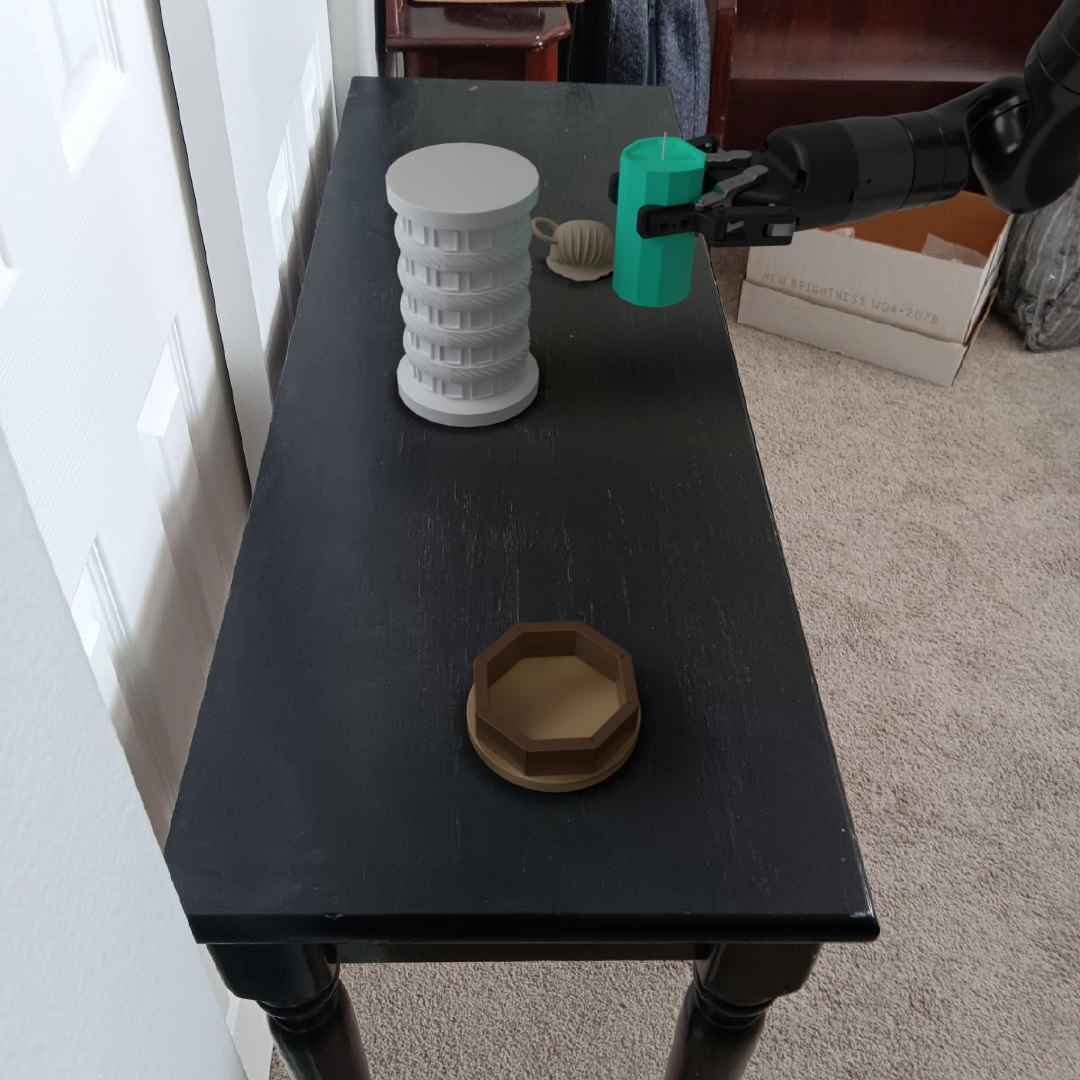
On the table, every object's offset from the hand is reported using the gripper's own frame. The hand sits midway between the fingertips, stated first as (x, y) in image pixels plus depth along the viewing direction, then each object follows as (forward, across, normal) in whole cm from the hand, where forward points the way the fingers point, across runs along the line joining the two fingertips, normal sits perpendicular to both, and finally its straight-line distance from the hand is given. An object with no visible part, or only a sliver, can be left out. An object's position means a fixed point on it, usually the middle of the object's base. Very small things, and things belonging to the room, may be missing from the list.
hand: (625, 205), depth 77 cm
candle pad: (+16, +29, +17) cm, 37 cm away
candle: (-3, 0, +7) cm, 8 cm away
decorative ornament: (-4, -19, +16) cm, 26 cm away
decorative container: (+11, -5, +16) cm, 20 cm away
